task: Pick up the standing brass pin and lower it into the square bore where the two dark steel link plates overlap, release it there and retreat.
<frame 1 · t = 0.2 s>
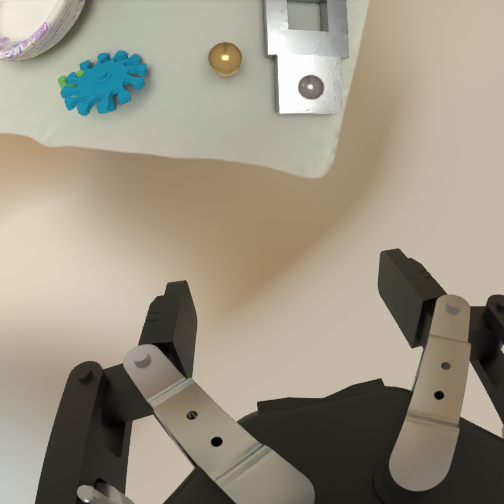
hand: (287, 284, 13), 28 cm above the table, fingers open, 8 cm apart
gear: (111, 81, 32), on the table
pin: (226, 64, 32), on the table
paper bowls: (48, 9, 26), on the table
link plates: (302, 18, 30), on the table
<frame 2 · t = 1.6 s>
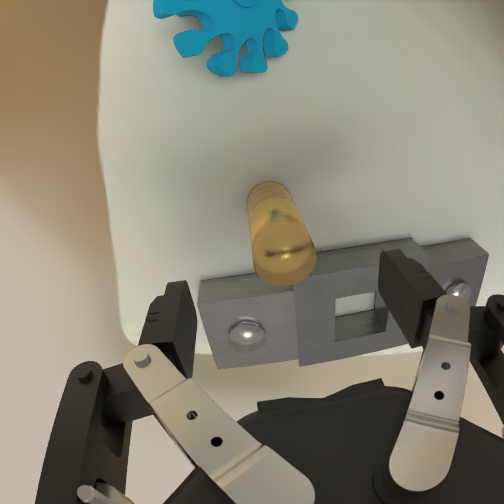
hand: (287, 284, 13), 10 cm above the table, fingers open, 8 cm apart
gear: (236, 2, 16), on the table
pin: (269, 202, 22), on the table
link plates: (351, 294, 26), on the table
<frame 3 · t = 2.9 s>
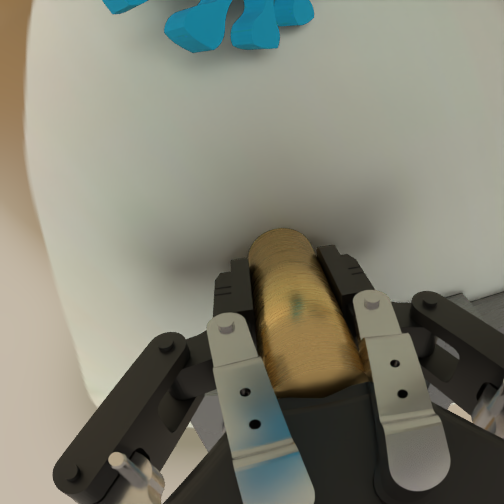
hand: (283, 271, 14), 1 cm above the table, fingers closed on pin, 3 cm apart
pin: (280, 258, 15), on the table, touching gripper
link plates: (381, 362, 19), on the table
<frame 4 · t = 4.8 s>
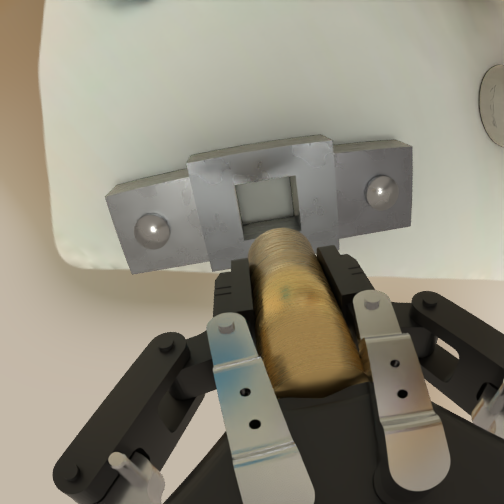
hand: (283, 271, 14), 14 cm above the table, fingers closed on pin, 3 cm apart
pin: (280, 257, 15), point 13 cm above the table, touching gripper
link plates: (264, 195, 27), on the table
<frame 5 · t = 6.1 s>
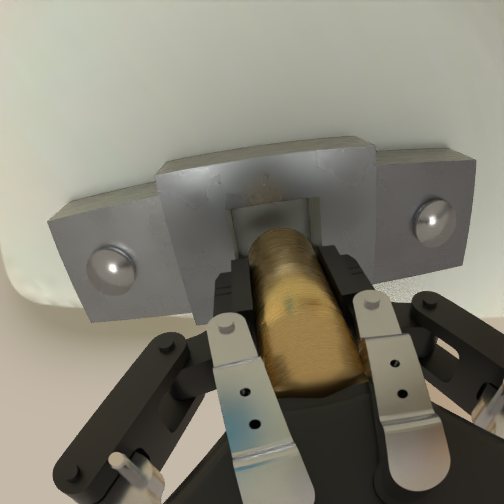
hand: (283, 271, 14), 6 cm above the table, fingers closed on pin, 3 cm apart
pin: (280, 258, 15), point 5 cm above the table, touching gripper
link plates: (271, 220, 19), on the table
when the fingers open (4 cm above the table, at t = 6.7 s): pin drops 3 cm, resting in link plates.
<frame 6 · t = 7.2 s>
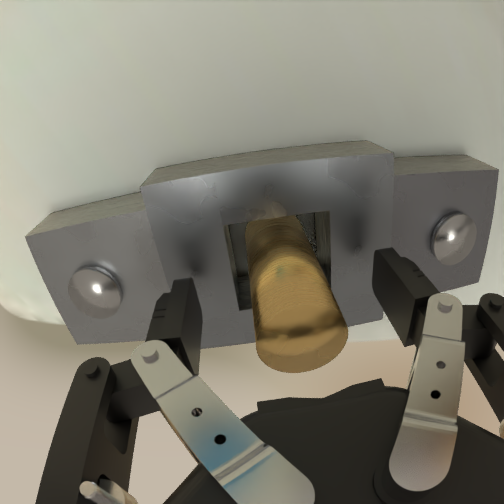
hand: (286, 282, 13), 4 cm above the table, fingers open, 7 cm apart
pin: (273, 234, 17), resting in link plates
link plates: (273, 235, 17), on the table
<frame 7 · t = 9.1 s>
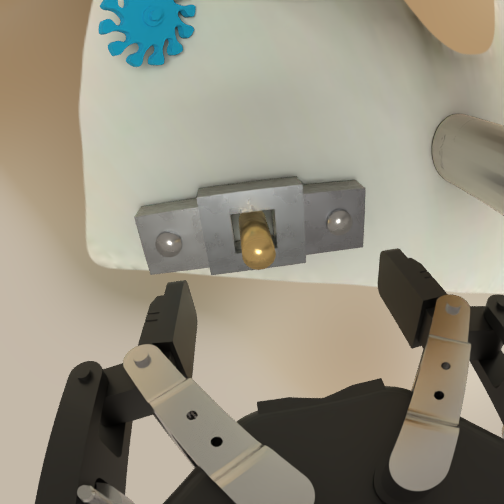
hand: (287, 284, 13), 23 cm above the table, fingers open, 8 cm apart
gear: (159, 20, 25), on the table
pin: (252, 220, 36), resting in link plates
link plates: (252, 220, 36), on the table
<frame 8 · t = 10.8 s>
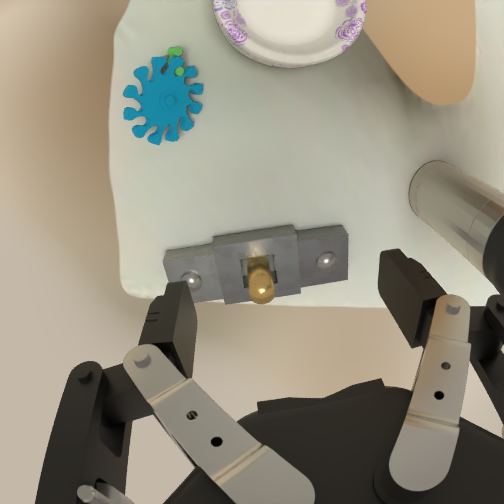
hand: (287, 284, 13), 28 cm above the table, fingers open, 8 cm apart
gear: (172, 94, 34), on the table
pin: (257, 259, 45), resting in link plates
paper bowls: (280, 12, 30), on the table
link plates: (257, 260, 45), on the table
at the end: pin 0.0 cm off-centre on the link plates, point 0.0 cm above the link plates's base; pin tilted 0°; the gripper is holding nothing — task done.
